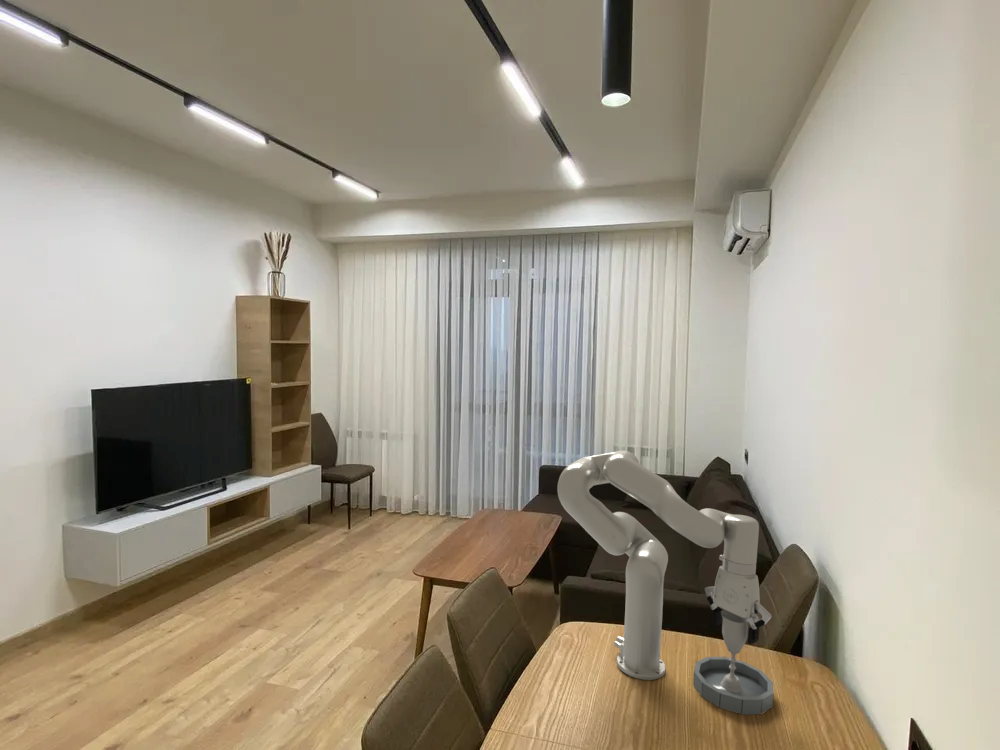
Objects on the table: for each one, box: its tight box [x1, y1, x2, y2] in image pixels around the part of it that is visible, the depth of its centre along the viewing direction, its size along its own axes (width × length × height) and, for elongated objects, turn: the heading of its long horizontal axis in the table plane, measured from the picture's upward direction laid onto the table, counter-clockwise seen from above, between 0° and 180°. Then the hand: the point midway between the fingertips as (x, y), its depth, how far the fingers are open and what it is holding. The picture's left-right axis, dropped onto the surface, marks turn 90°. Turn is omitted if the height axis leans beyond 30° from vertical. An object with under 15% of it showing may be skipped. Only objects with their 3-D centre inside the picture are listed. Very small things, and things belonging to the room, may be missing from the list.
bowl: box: [692, 656, 774, 715], centre depth 136 cm, size 18×18×4 cm
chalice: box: [721, 609, 750, 693], centre depth 136 cm, size 7×7×18 cm
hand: (734, 633), depth 136 cm, fingers open, 9 cm apart
